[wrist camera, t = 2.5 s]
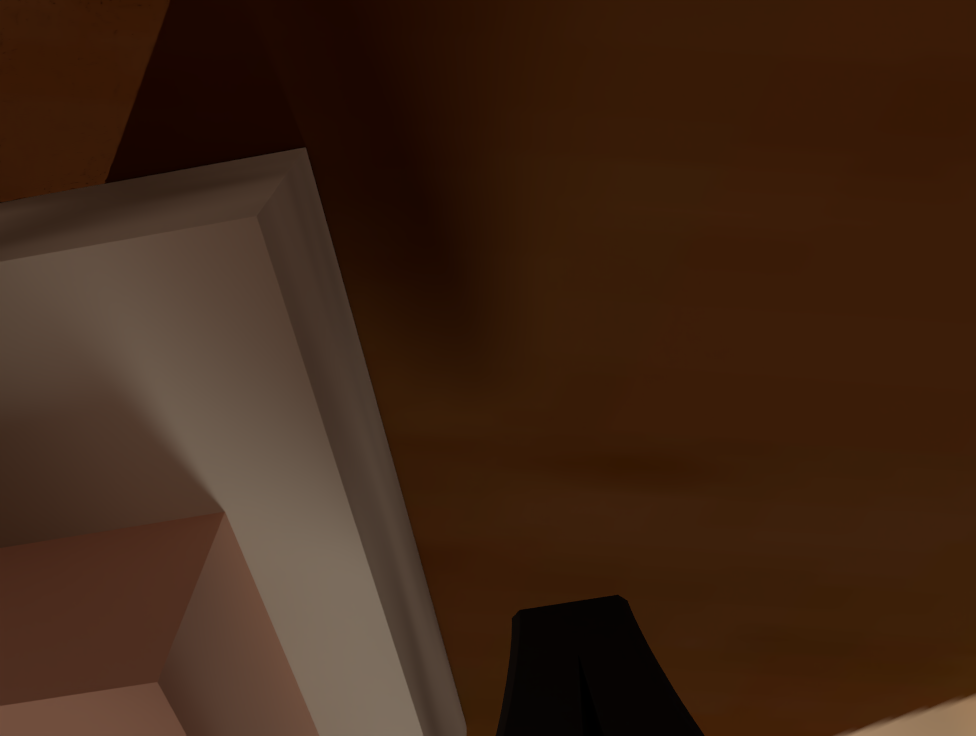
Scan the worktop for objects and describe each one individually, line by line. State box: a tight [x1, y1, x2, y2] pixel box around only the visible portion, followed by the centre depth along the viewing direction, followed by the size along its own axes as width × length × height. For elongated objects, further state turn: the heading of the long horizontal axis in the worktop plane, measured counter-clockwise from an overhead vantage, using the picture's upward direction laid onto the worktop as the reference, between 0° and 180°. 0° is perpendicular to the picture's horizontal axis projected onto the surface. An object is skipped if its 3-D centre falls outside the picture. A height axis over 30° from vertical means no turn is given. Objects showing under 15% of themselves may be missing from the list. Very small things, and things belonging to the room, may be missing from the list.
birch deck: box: [0, 147, 466, 736], centre depth 12 cm, size 8×12×3 cm, turn 10°
